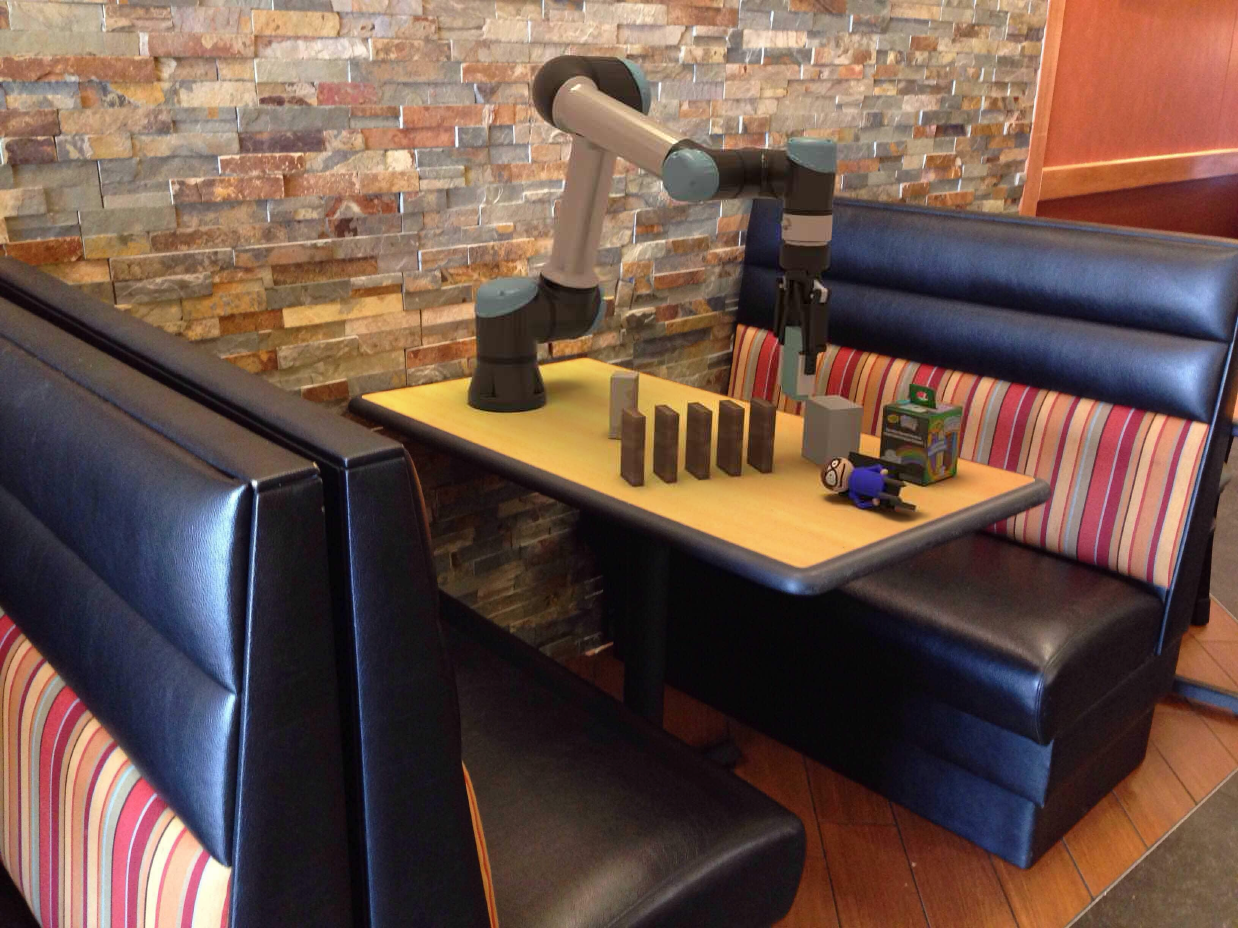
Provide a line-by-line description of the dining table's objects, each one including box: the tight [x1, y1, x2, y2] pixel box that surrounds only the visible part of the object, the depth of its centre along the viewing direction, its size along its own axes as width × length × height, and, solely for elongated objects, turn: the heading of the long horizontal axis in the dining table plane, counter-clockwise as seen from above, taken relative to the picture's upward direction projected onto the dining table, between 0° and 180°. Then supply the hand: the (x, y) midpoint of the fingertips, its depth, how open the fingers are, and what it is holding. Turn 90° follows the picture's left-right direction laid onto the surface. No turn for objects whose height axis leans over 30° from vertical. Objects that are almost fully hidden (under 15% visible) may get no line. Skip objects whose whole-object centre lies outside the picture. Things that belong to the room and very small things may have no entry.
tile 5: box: [746, 396, 778, 475], centre depth 176 cm, size 2×6×11 cm, turn 20°
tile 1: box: [619, 407, 647, 488], centre depth 169 cm, size 2×6×11 cm, turn 20°
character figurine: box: [820, 451, 922, 512], centre depth 161 cm, size 8×7×15 cm
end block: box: [800, 394, 864, 468], centre depth 180 cm, size 8×6×10 cm
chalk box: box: [878, 382, 964, 487], centre depth 174 cm, size 9×9×15 cm
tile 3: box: [684, 401, 714, 481], centre depth 172 cm, size 2×6×11 cm, turn 20°
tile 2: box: [652, 404, 681, 484], centre depth 170 cm, size 2×6×11 cm, turn 20°
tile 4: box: [715, 399, 746, 478], centre depth 174 cm, size 2×6×11 cm, turn 20°
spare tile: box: [780, 325, 810, 403], centre depth 174 cm, size 2×6×11 cm, turn 20°
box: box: [608, 370, 640, 440], centre depth 191 cm, size 5×4×11 cm
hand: (795, 389), depth 175 cm, fingers closed on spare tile, 6 cm apart
